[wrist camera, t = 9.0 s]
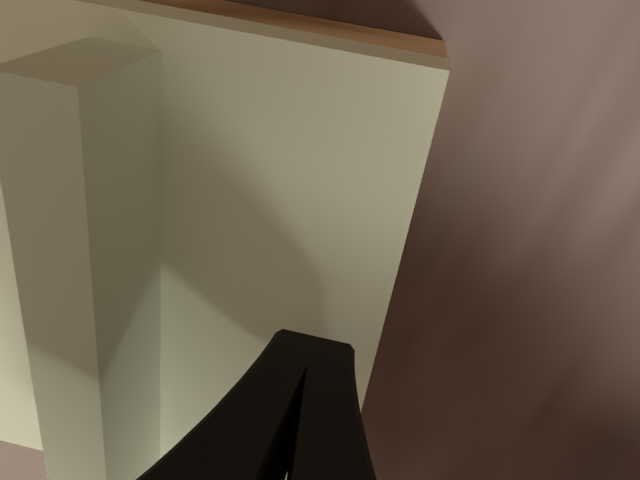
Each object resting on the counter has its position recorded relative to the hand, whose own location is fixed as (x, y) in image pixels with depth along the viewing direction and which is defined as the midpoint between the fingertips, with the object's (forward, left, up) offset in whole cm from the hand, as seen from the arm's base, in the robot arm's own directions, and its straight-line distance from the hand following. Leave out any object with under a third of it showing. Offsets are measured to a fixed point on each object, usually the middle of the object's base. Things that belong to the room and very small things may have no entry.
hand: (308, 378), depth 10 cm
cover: (+6, 0, -2) cm, 6 cm away
